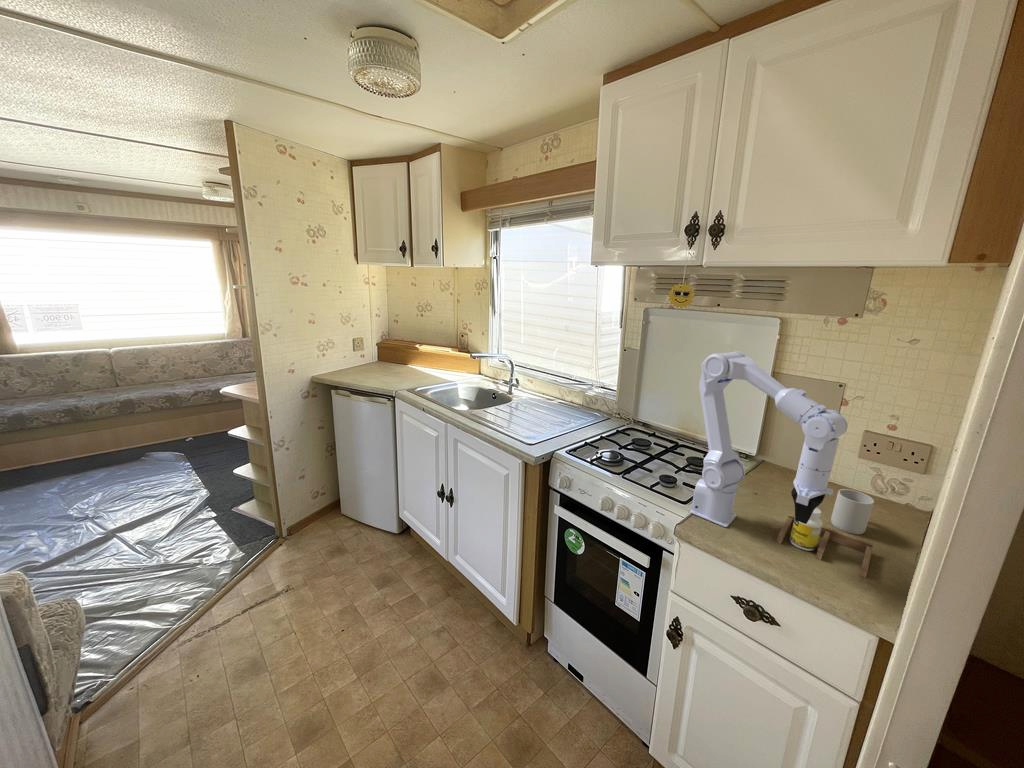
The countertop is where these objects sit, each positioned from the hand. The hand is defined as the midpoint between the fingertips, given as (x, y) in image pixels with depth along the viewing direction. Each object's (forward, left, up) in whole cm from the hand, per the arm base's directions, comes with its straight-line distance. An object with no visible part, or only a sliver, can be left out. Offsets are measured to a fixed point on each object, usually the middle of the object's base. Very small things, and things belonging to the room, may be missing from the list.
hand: (801, 521), depth 94 cm
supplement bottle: (+1, +8, -10) cm, 13 cm away
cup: (+7, +27, -10) cm, 30 cm away
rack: (+4, +10, -10) cm, 15 cm away
